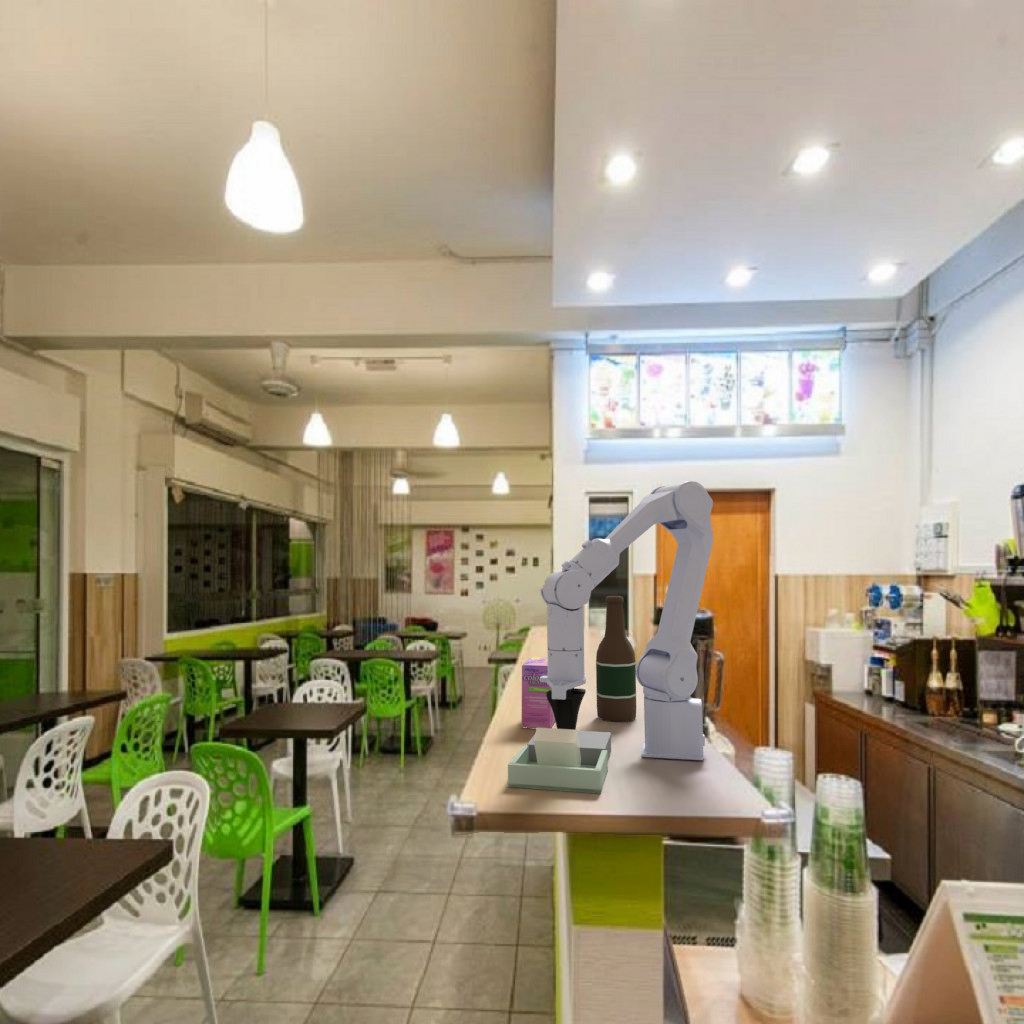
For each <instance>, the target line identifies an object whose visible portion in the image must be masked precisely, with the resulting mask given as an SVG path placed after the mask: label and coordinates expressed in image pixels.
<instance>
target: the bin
mask: <svg viewBox="0 0 1024 1024" xmlns="http://www.w3.org/2000/svg"><path fill="white" fill-rule="evenodd" d="M608 763H609V760H608V752H607V750H602V751H601V754H600V757H599V760H598V762H597V765H596V766H591V765H580V768H578V767H562V766H547V765H538V763H537V762H529V746H527V744H525V745H522V747H520V749H519V750H518V752H517V753H516V754H515V755H514V757H513V758H512V759H511V761H509V763H508V764H507V787H508V788H518V789H519V788H520V789H534V790H545V791H560V792H561V791H562V792H570V793H571V792H573V793H587V794H598V795H599V794H602V791H603V788H604V784H605V781H606V777H607V774H608V772H609V766H608Z"/></svg>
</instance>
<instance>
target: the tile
mask: <svg viewBox="0 0 1024 1024" xmlns="http://www.w3.org/2000/svg"><path fill="white" fill-rule="evenodd" d="M578 731H579V730H578V729H576V730H571V729H557V728H553V727H551V728H537V729H535V733H534V735H535V737H534V745H535V751H536V757H537V763H538V765H547V766H562V767H578V768H580V765H581V753H580V745H579V737H578Z"/></svg>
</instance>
